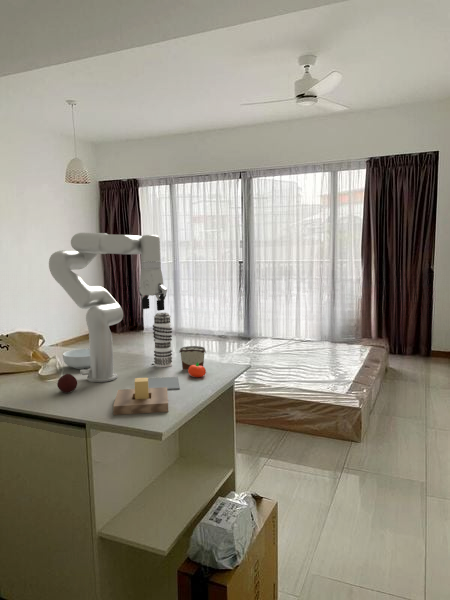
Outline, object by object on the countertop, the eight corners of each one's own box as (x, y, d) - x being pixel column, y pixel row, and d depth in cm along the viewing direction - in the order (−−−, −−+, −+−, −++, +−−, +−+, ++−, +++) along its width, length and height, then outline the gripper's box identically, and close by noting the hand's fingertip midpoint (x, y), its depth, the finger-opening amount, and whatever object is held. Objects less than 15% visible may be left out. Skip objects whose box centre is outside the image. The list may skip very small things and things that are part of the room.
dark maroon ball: (56, 396, 165) (55, 378, 164) (58, 389, 173) (57, 372, 172) (77, 394, 167) (76, 376, 166) (78, 388, 175) (77, 371, 174)
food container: (207, 366, 206) (207, 345, 205) (206, 370, 200) (205, 348, 199) (182, 366, 208) (181, 345, 206) (179, 369, 201) (179, 348, 200)
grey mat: (138, 391, 170) (138, 390, 170) (139, 379, 186) (139, 378, 186) (179, 389, 172) (179, 387, 172) (177, 378, 188) (177, 376, 188)
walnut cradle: (113, 415, 145) (113, 406, 145) (118, 397, 163) (118, 389, 163) (168, 411, 148) (168, 403, 148) (167, 394, 166) (167, 387, 165)
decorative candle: (150, 363, 213) (149, 312, 210) (168, 361, 217) (167, 311, 214) (157, 368, 204) (155, 315, 202) (175, 365, 209) (174, 313, 206)
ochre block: (135, 407, 153) (134, 381, 152) (135, 402, 157) (135, 378, 156) (148, 406, 154) (147, 381, 153) (148, 401, 158) (148, 377, 157)
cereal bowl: (55, 370, 203) (54, 355, 202) (77, 361, 218) (76, 347, 218) (87, 372, 198) (86, 357, 197) (107, 363, 213) (107, 349, 213)
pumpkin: (194, 374, 195) (196, 360, 195) (208, 377, 190) (209, 363, 190) (183, 376, 190) (184, 361, 190) (197, 379, 185) (198, 364, 185)
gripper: (130, 266, 177) (132, 309, 178) (157, 266, 165) (159, 311, 166) (146, 266, 182) (147, 307, 184) (172, 266, 170) (174, 309, 172)
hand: (153, 309), depth 175 cm, fingers open, 9 cm apart
